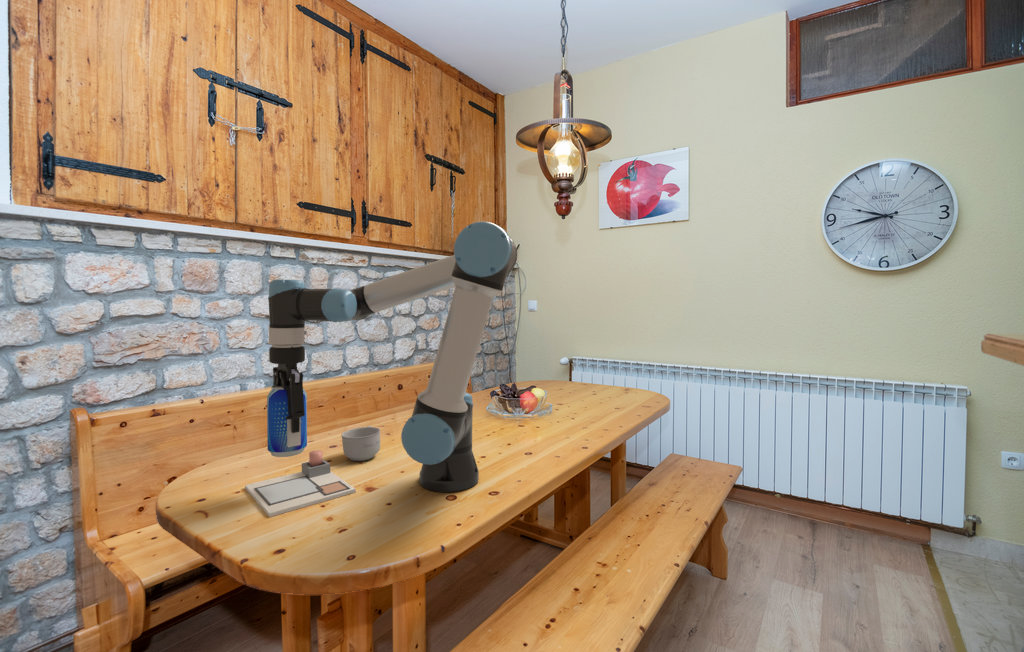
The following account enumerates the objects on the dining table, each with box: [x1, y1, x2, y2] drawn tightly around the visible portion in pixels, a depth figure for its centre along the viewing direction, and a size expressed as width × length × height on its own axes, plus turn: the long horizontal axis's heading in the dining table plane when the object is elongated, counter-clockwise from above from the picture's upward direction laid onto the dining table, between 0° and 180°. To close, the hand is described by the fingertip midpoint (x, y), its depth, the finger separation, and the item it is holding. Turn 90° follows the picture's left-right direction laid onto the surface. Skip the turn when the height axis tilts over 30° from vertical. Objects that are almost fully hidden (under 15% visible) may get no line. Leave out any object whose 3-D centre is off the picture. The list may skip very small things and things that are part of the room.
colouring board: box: [244, 458, 357, 518], centre depth 109 cm, size 20×19×3 cm
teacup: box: [340, 425, 381, 462], centre depth 134 cm, size 14×11×8 cm
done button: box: [308, 449, 324, 466], centre depth 119 cm, size 3×3×3 cm
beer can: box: [266, 385, 308, 458], centre depth 107 cm, size 8×8×16 cm
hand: (287, 441), depth 107 cm, fingers closed on beer can, 8 cm apart
